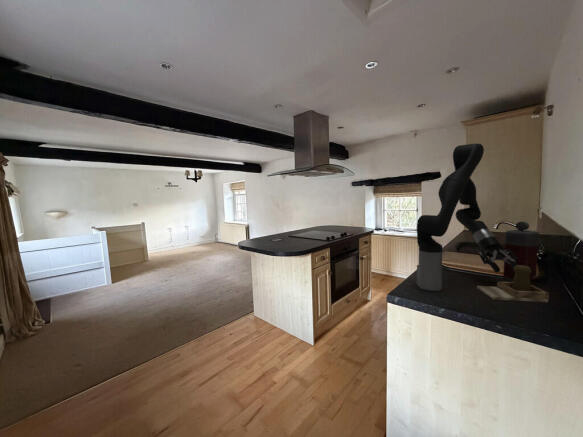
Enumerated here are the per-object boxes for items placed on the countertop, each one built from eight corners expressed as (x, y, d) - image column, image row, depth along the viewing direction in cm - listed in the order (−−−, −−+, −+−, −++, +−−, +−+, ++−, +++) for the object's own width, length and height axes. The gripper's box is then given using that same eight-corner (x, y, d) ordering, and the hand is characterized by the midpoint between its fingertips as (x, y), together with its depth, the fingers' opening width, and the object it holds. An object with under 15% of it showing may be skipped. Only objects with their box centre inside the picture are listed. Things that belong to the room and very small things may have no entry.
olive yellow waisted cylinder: (535, 294, 94) (537, 268, 94) (518, 294, 96) (519, 267, 95) (524, 289, 100) (525, 263, 99) (507, 288, 102) (508, 263, 101)
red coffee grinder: (538, 278, 115) (542, 221, 113) (525, 281, 111) (529, 223, 109) (516, 273, 123) (519, 220, 121) (503, 276, 119) (505, 221, 117)
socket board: (493, 299, 94) (494, 290, 94) (476, 288, 105) (477, 280, 105) (549, 302, 90) (550, 293, 90) (525, 290, 102) (526, 282, 101)
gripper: (476, 236, 109) (498, 267, 99) (506, 235, 110) (530, 266, 100) (467, 245, 115) (486, 275, 105) (495, 244, 116) (517, 274, 105)
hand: (507, 271), depth 102 cm, fingers open, 8 cm apart
